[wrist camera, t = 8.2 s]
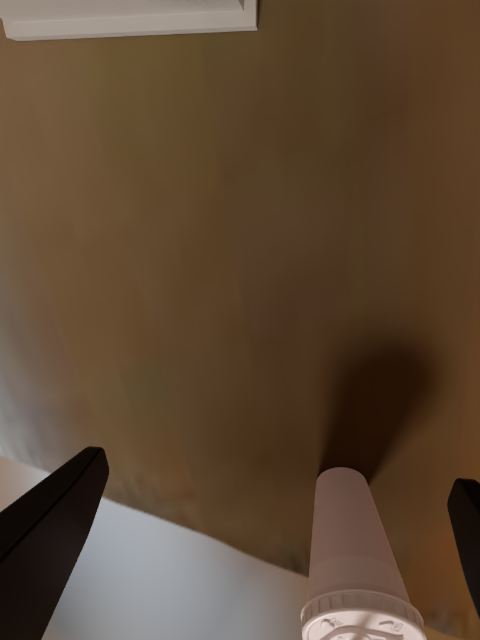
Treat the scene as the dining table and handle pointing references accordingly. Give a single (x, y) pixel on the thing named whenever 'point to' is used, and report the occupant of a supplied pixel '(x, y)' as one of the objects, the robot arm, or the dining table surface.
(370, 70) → the dining table surface
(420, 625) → the smoothie
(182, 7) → the stand base
